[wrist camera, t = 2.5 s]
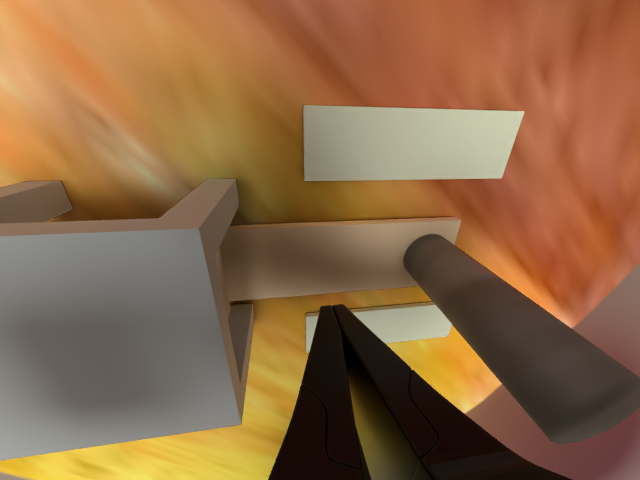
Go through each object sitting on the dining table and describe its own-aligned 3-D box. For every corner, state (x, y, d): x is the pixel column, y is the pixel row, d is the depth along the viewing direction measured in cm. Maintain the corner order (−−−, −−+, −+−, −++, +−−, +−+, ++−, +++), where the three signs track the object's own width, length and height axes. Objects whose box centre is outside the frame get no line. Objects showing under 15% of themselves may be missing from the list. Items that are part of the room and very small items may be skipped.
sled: (436, 286, 15) (596, 455, 7) (109, 312, 12) (-155, 610, 5) (458, 207, 13) (716, 335, 5) (66, 220, 10) (-534, 504, 3)
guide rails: (445, 332, 17) (447, 336, 17) (305, 348, 16) (306, 352, 16) (518, 111, 11) (524, 111, 11) (303, 105, 10) (303, 104, 10)
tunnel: (254, 319, 14) (241, 424, 9) (103, 333, 13) (-3, 461, 8) (236, 178, 11) (198, 228, 6) (26, 181, 10) (-243, 246, 5)
